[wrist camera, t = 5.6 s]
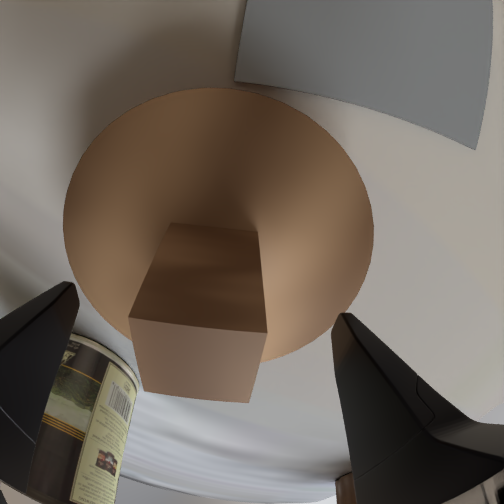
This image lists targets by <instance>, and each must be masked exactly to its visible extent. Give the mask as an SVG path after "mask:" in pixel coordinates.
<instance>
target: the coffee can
mask: <svg viewBox="0 0 504 504" xmlns="http://www.w3.org/2000/svg"><path fill="white" fill-rule="evenodd" d="M138 391H139V382H138V380H137V378H136V376H135V374H134V372H133V371H132V370H131V368H130V367H129V366H128V365H127V364H126V363H125V362H124V361H123V360H122V359H120V358H119V357H118V356H117V355H116V354H114V353H113V352H111V351H109V350H108V349H107V348H105V347H103V346H102V345H100V344H98V343H96V342H94V341H92V340H90V339H88V338H85V337H83V336H80V335H76V334H73V333H71V336H70V339H69V342H68V345H67V348H66V351H65V353H64V356H63V359H62V361H61V364H60V367H59V369H58V372H57V375H56V378H55V381H54V383H53V386H52V389H51V392H50V396H49V399H48V402H47V405H46V408H45V412H44V415H43V419H42V422H41V426H40V430H39V433H38V437H37V441H36V443H35V444H36V446H35V450H34V455H33V459H32V464H31V469H30V474H29V480H28V486H27V491H26V494H24V493H23V492H21V491H19V490H17V489H15V488H14V487H12V486H10V485H8V484H7V483H5V482H3V481H2V482H3V483H4V484H6V485H8V486H9V487H11V488H13V489H14V490H16V491H18V492H20V493H21V494H24V495H26V496H28V497H29V498H31V499H33V500H35V501H37V502H39V503H41V504H114V503H115V498H116V492H117V486H118V480H119V474H120V469H121V463H122V457H123V452H124V448H125V444H126V439H127V434H128V429H129V425H130V421H131V416H132V412H133V407H134V403H135V399H136V395H137V393H138Z"/></svg>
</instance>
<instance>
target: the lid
mask: <svg viewBox="0 0 504 504" xmlns="http://www.w3.org/2000/svg"><path fill="white" fill-rule="evenodd" d="M63 233H64V242H65V248H66V252H67V256H68V260H69V263H70V266H71V269H72V271H73V274H74V276H75V278H76V280H77V282H78V284H79V286H80V288H81V290H82V291H83V293H84V295H85V296H86V297H87V299H88V300H89V302H90V303H91V304H92V306H93V307H94V308H95V309H96V310H97V312H98V313H99V314H100V315H101V316H102V317H103V318H104V319H105V320H106V321H107V322H108V323H109V324H110V325H111V326H113V327H114V328H115V329H116V330H117V331H119V332H120V333H121V334H123V335H124V336H126V337H127V338H128V339H130V340H131V341H132V342H133V346H134V351H135V356H136V360H137V365H138V369H139V373H140V377H141V381H142V385H143V389H144V391H147V392H152V393H158V394H165V395H171V396H178V397H186V398H194V399H203V400H213V401H225V402H240V403H249V400H250V397H251V393H252V390H253V386H254V383H255V379H256V375H257V372H258V368H259V364H260V363H261V362H265V361H269V360H272V359H275V358H278V357H281V356H284V355H287V354H289V353H291V352H293V351H296V350H298V349H300V348H301V347H303V346H305V345H307V344H308V343H310V342H312V341H313V340H315V339H316V338H318V337H319V336H320V335H322V334H323V333H324V332H326V331H327V330H328V329H329V328H330V327H331V326H332V325H333V324H334V323H335V321H336V319H337V317H338V315H339V313H342V312H343V313H345V311H346V310H347V309H348V308H349V306H350V305H351V303H352V302H353V300H354V299H355V297H356V296H357V294H358V292H359V290H360V288H361V286H362V284H363V282H364V280H365V277H366V274H367V271H368V268H369V265H370V261H371V255H372V249H373V236H374V224H373V217H372V209H371V204H370V201H369V198H368V194H367V191H366V188H365V185H364V183H363V181H362V179H361V177H360V175H359V173H358V170H357V168H356V166H355V165H354V164H353V162H352V161H351V159H350V158H349V156H348V155H347V153H346V152H345V151H344V149H343V148H342V147H341V146H340V145H339V143H338V142H337V141H336V140H335V139H334V138H333V137H332V136H331V135H330V134H329V133H328V132H327V131H326V130H325V129H324V128H322V127H321V126H320V125H318V124H317V123H316V122H314V121H313V120H312V119H310V118H309V117H308V116H306V115H305V114H303V113H301V112H300V111H298V110H296V109H294V108H292V107H290V106H288V105H286V104H285V103H283V102H280V101H277V100H275V99H272V98H269V97H266V96H263V95H260V94H257V93H252V92H247V91H242V90H236V89H229V88H198V89H190V90H183V91H177V92H173V93H170V94H166V95H163V96H160V97H157V98H153V99H151V100H149V101H147V102H145V103H143V104H140V105H138V106H136V107H134V108H132V109H130V110H129V111H127V112H126V113H125V114H123V115H122V116H120V117H119V118H117V119H116V120H115V121H113V122H112V123H111V124H110V125H109V126H107V127H106V128H105V129H104V130H103V131H102V132H101V133H100V134H99V135H98V136H97V137H96V138H95V139H94V141H93V142H92V143H91V145H90V146H89V147H88V149H87V150H86V151H85V153H84V154H83V156H82V157H81V159H80V161H79V163H78V165H77V167H76V169H75V171H74V173H73V175H72V178H71V181H70V184H69V187H68V190H67V194H66V199H65V205H64V212H63Z"/></svg>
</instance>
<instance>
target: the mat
mask: <svg viewBox="0 0 504 504" xmlns="http://www.w3.org/2000/svg"><path fill="white" fill-rule="evenodd" d="M492 36H493V6H492V0H247V5H246V11H245V16H244V22H243V28H242V33H241V39H240V45H239V52H238V58H237V64H236V71H235V77H234V81H237V82H245V83H253V84H260V85H267V86H273V87H279V88H285V89H291V90H296V91H301V92H306V93H311V94H315V95H320V96H324V97H328V98H332V99H336V100H340V101H344V102H348V103H352V104H355V105H359V106H362V107H366V108H369V109H372V110H375V111H379V112H382V113H385V114H388V115H391V116H394V117H397V118H400V119H402V120H405V121H408V122H411V123H413V124H416V125H419V126H421V127H424V128H426V129H429V130H431V131H434V132H436V133H438V134H441V135H443V136H445V137H448V138H450V139H452V140H454V141H457V142H459V143H461V144H463V145H465V146H467V147H469V148H471V149H474V150H476V147H477V143H478V138H479V134H480V130H481V125H482V120H483V115H484V110H485V104H486V98H487V91H488V84H489V76H490V67H491V55H492Z"/></svg>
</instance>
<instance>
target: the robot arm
mask: <svg viewBox="0 0 504 504" xmlns="http://www.w3.org/2000/svg"><path fill="white" fill-rule="evenodd" d="M79 304H80V303H79V298H78V294H77V290H76V286H75V284H74V283H72V282H67V281H63V282H61V283H60V284H58V285H56V286H54V287H53V288H51V289H49V290H47V291H46V292H44V293H42V294H41V295H39V296H37V297H36V298H34V299H32V300H31V301H29V302H27V303H26V304H24V305H22V306H21V307H19V308H17V309H16V310H14V311H13V312H11V313H9V314H8V315H6V316H5V317H3V318H1V319H0V486H1V482H2V481H3V482H5V483H7V484H8V485H10V486H12V487H14V488H15V489H17V490H19V491H21V492H23V493H24V494H26V491H27V486H28V480H29V474H30V469H31V464H32V459H33V455H34V450H35V446H36V444H35V443H36V441H37V437H38V433H39V430H40V426H41V422H42V419H43V415H44V412H45V408H46V405H47V402H48V399H49V396H50V392H51V389H52V386H53V383H54V381H55V378H56V375H57V372H58V369H59V367H60V364H61V361H62V359H63V356H64V353H65V351H66V348H67V345H68V342H69V339H70V336H71V332H72V329H73V326H74V322H75V319H76V316H77V313H78V310H79ZM331 340H332V350H333V361H334V371H335V378H336V383H337V388H338V393H339V398H340V403H341V408H342V413H343V419H344V424H345V430H346V436H347V441H348V447H349V453H350V460H351V466H352V473H353V479H354V480H355V481H354V487H355V495H356V502H357V504H504V425H500V424H487V423H480V422H477V421H474V420H472V419H470V418H469V417H467V416H466V415H465V414H464V413H462V412H461V411H460V410H459V409H457V408H456V407H455V406H454V405H452V404H451V403H450V402H449V401H447V400H446V399H445V398H444V397H442V396H441V395H440V394H439V393H438V392H436V391H435V390H434V389H433V388H432V387H431V386H430V385H429V384H427V383H426V382H425V381H424V380H423V379H422V378H421V377H420V376H419V375H418V376H417V373H416V372H415V371H414V370H412V369H411V368H410V367H409V366H408V365H407V364H406V363H405V362H404V361H403V360H402V359H401V358H400V357H399V356H398V355H396V354H395V353H394V352H393V351H392V350H391V349H390V348H389V347H388V346H387V345H386V344H385V343H384V342H382V341H381V340H380V339H379V338H378V337H377V336H376V335H375V334H374V333H373V332H372V331H371V330H369V329H368V328H367V327H366V326H365V325H364V324H363V323H362V322H361V321H360V320H358V319H357V318H356V317H355V316H354V315H353V314H352V313H343V312H342V313H339V315H338V317H337V319H336V321H335V324H334V326H333V328H332V331H331ZM0 504H7V502H6V500H5V498H4V496H3V493H2V491H1V490H0Z"/></svg>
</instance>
